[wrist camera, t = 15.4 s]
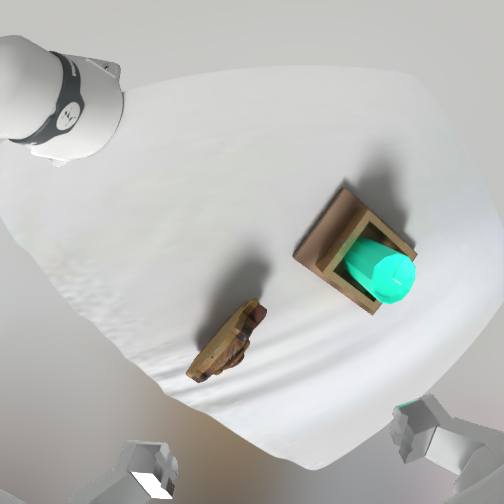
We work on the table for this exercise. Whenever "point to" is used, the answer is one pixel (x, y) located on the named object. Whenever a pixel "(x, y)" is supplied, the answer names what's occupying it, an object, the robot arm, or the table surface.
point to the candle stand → (346, 245)
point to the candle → (380, 270)
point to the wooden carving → (228, 343)
